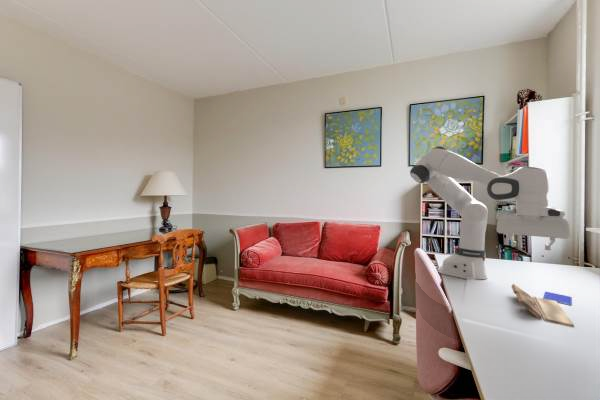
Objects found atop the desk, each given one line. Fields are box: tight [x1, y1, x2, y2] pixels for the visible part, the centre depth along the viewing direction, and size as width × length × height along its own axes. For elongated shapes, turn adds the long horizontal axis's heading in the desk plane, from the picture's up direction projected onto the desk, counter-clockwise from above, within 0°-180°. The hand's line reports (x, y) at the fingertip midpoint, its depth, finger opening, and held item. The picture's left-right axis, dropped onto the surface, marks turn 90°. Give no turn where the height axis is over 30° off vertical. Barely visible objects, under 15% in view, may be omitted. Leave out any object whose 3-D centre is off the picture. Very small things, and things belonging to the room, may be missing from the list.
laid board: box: [532, 296, 575, 327], centre depth 95 cm, size 7×23×1 cm, turn 146°
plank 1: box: [511, 283, 536, 306], centre depth 104 cm, size 7×10×1 cm
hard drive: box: [542, 291, 573, 307], centre depth 107 cm, size 2×8×12 cm
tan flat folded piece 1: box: [515, 292, 543, 320], centre depth 94 cm, size 7×10×1 cm
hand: (530, 248), depth 97 cm, fingers open, 8 cm apart
